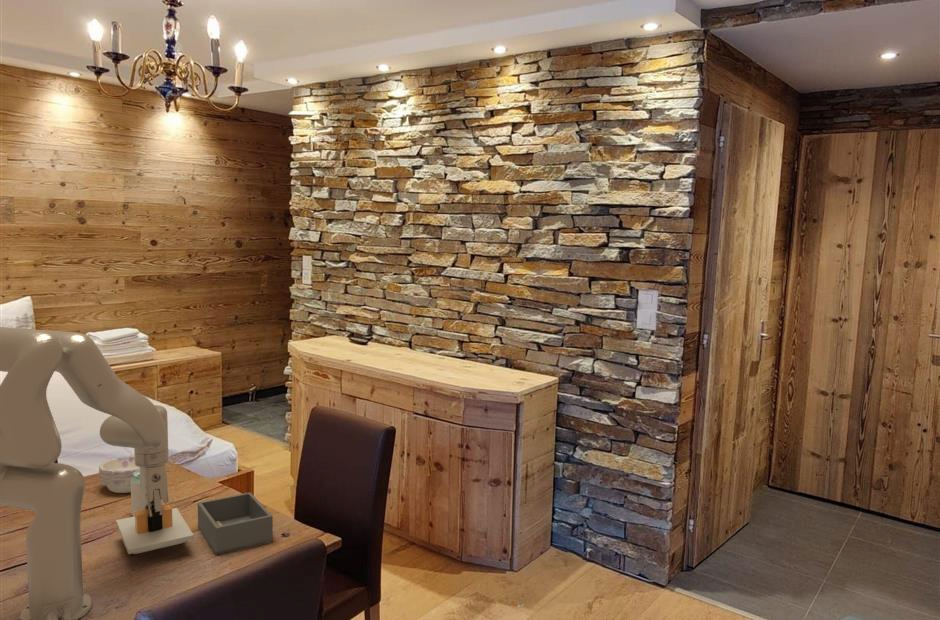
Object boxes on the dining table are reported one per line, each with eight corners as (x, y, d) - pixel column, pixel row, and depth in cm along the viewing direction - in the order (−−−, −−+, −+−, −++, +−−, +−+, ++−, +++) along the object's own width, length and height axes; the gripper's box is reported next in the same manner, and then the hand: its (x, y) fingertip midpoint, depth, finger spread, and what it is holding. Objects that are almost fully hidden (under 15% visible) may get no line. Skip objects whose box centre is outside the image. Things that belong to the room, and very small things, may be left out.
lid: (193, 542, 165) (193, 517, 164) (128, 558, 157) (127, 531, 156) (176, 514, 180) (176, 491, 179) (116, 527, 172) (115, 503, 171)
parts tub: (272, 541, 174) (272, 515, 173) (216, 555, 166) (216, 528, 165) (250, 516, 188) (250, 492, 188) (198, 527, 180) (197, 502, 179)
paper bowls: (148, 475, 216) (147, 451, 215) (161, 490, 205) (161, 464, 204) (94, 485, 206) (93, 460, 206) (105, 501, 195) (104, 475, 194)
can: (159, 517, 186) (158, 475, 184) (130, 521, 183) (129, 478, 182) (160, 507, 192) (159, 467, 191) (132, 510, 189) (131, 469, 188)
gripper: (175, 463, 161) (177, 536, 164) (161, 444, 175) (163, 512, 177) (140, 469, 157) (143, 544, 159) (129, 449, 170) (131, 518, 173)
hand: (153, 526), depth 168 cm, fingers closed on lid, 3 cm apart
